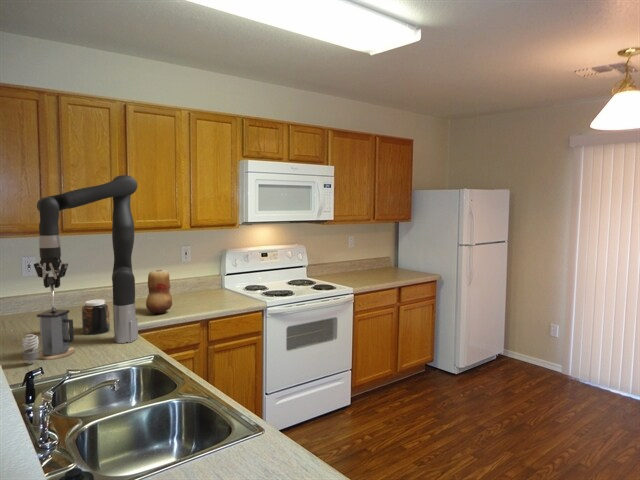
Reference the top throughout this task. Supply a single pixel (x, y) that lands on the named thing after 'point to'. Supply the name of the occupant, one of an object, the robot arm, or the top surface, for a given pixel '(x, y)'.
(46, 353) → the carafe
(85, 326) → the jar
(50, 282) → the plunger
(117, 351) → the top surface
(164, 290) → the butternut squash
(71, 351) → the disc
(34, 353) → the light bulb
